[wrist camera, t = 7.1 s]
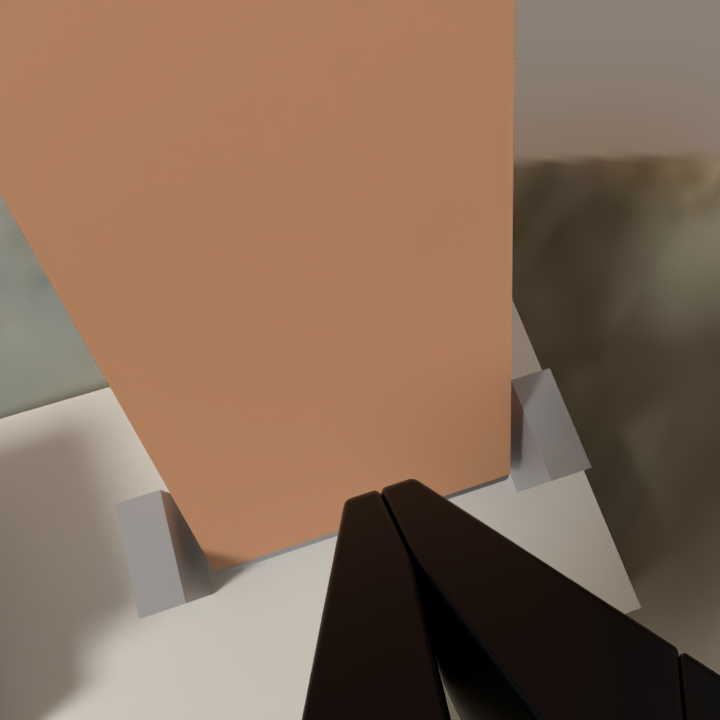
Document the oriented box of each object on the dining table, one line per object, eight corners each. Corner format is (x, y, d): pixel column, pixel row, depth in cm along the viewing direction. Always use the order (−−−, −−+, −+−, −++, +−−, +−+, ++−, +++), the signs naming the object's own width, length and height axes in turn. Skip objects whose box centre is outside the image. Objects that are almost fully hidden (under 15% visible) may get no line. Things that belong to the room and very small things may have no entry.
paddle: (510, 495, 13) (516, -186, 6) (225, 590, 12) (-139, -52, 5) (479, 444, 14) (457, -179, 7) (217, 528, 13) (-91, -67, 6)
